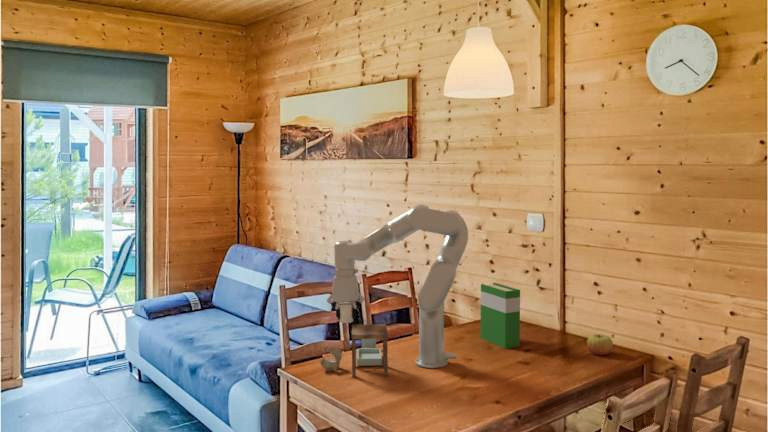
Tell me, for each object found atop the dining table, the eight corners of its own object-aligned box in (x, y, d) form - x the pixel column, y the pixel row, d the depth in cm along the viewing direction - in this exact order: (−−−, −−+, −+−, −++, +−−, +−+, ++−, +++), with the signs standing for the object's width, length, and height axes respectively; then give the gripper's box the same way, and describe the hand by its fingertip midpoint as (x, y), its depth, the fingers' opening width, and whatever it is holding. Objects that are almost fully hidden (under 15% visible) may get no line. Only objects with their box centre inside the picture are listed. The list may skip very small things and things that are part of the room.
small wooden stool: (386, 364, 237) (386, 324, 236) (387, 377, 224) (387, 334, 222) (352, 365, 237) (352, 324, 236) (352, 378, 223) (351, 335, 222)
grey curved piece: (325, 372, 226) (321, 345, 230) (319, 376, 231) (315, 349, 235) (347, 369, 229) (342, 343, 234) (340, 374, 235) (336, 348, 239)
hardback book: (480, 337, 273) (480, 284, 271) (494, 335, 276) (494, 282, 274) (505, 348, 257) (505, 291, 255) (519, 346, 260) (520, 290, 258)
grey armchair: (380, 347, 259) (379, 334, 258) (381, 365, 236) (381, 351, 235) (357, 347, 259) (357, 335, 258) (357, 365, 236) (357, 352, 235)
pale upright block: (353, 319, 245) (352, 302, 244) (353, 322, 239) (352, 305, 239) (340, 319, 244) (339, 302, 244) (339, 323, 239) (338, 305, 239)
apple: (585, 355, 247) (586, 336, 246) (587, 348, 256) (588, 329, 255) (612, 358, 243) (612, 338, 242) (612, 351, 252) (613, 332, 251)
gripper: (366, 270, 244) (368, 315, 246) (323, 271, 244) (325, 317, 245) (366, 273, 237) (368, 320, 238) (322, 275, 236) (324, 321, 238)
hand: (346, 318), depth 242 cm, fingers closed on pale upright block, 5 cm apart
